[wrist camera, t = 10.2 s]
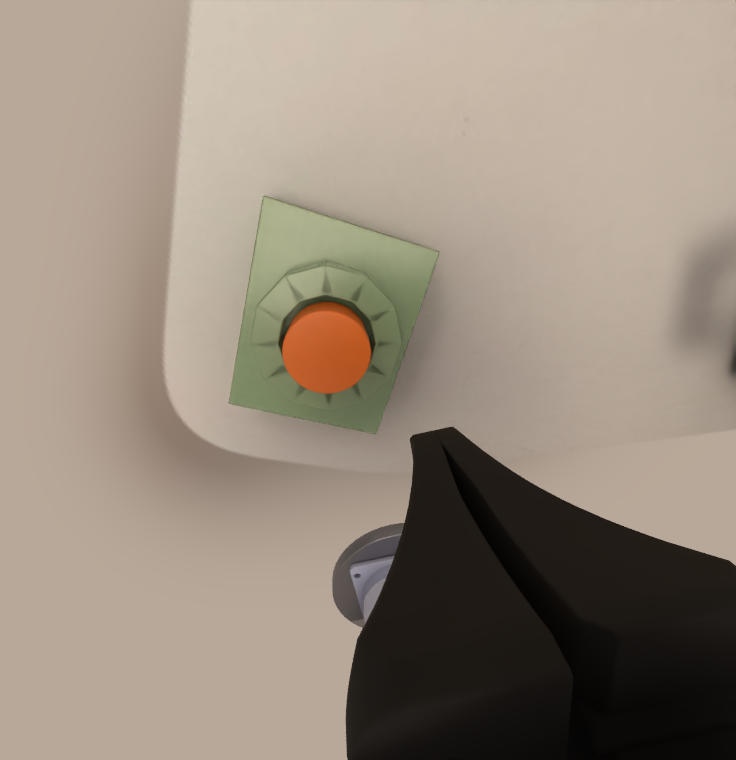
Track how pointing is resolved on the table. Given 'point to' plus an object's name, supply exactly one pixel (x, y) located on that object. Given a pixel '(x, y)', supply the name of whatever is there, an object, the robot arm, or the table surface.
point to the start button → (326, 348)
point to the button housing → (326, 284)
